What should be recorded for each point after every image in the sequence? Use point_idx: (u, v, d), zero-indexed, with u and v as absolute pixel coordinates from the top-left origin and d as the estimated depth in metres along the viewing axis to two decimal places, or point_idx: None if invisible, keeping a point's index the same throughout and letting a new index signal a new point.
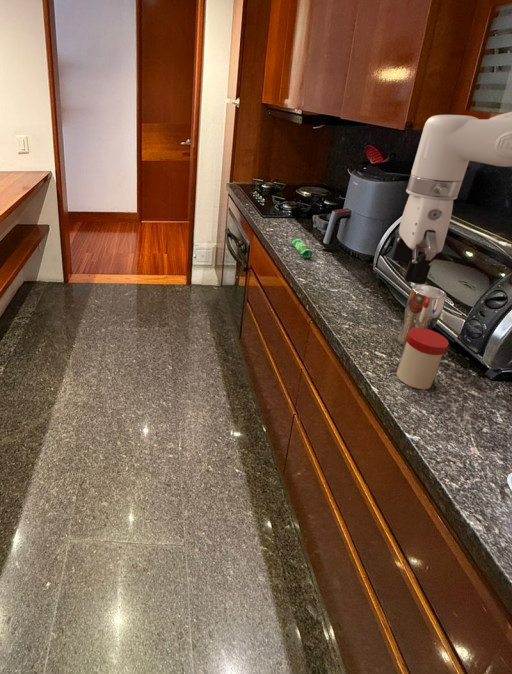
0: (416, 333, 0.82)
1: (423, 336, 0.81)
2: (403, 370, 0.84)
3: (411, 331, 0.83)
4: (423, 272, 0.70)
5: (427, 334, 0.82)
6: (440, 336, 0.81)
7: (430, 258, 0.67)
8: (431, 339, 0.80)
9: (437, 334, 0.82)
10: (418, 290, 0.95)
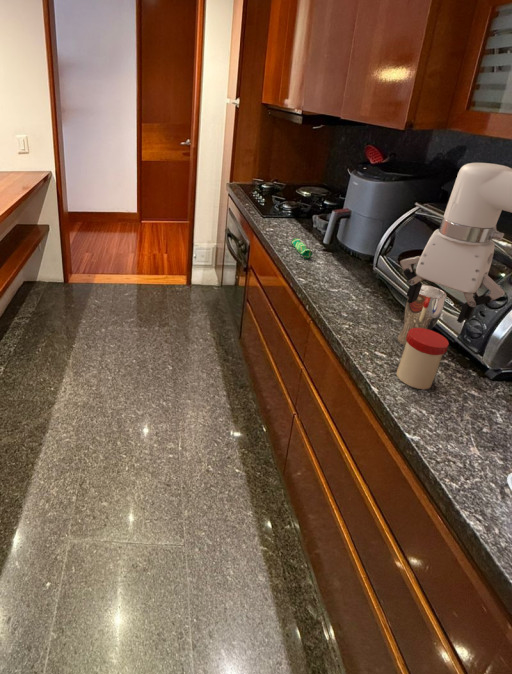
0: (416, 333, 0.82)
1: (423, 336, 0.81)
2: (403, 370, 0.84)
3: (411, 331, 0.83)
4: (473, 310, 0.74)
5: (427, 334, 0.82)
6: (440, 336, 0.81)
7: (493, 299, 0.71)
8: (431, 339, 0.80)
9: (437, 334, 0.82)
10: None
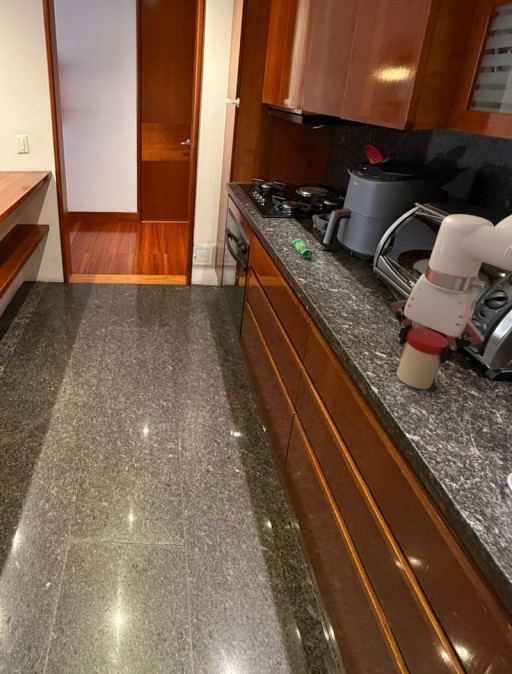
0: (416, 333, 0.82)
1: (423, 336, 0.81)
2: (403, 370, 0.84)
3: (411, 331, 0.83)
4: None
5: (427, 334, 0.82)
6: (440, 336, 0.81)
7: None
8: (431, 339, 0.80)
9: (437, 334, 0.82)
10: None
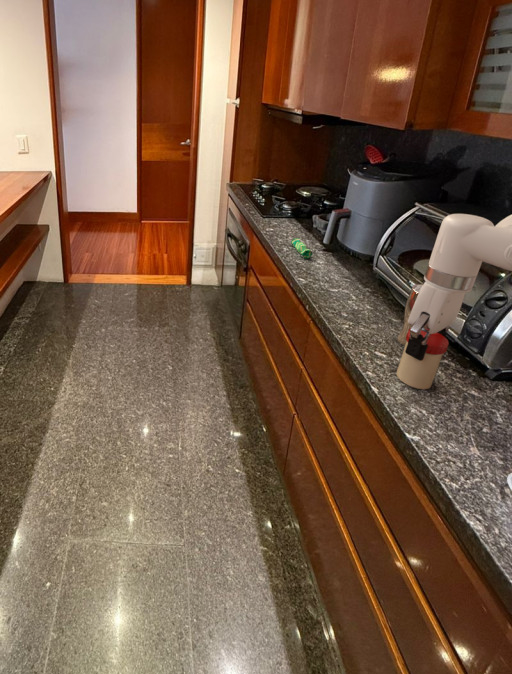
0: None
1: (429, 339, 0.80)
2: (403, 370, 0.84)
3: None
4: None
5: (421, 334, 0.82)
6: None
7: None
8: (431, 336, 0.81)
9: None
10: (418, 290, 0.95)
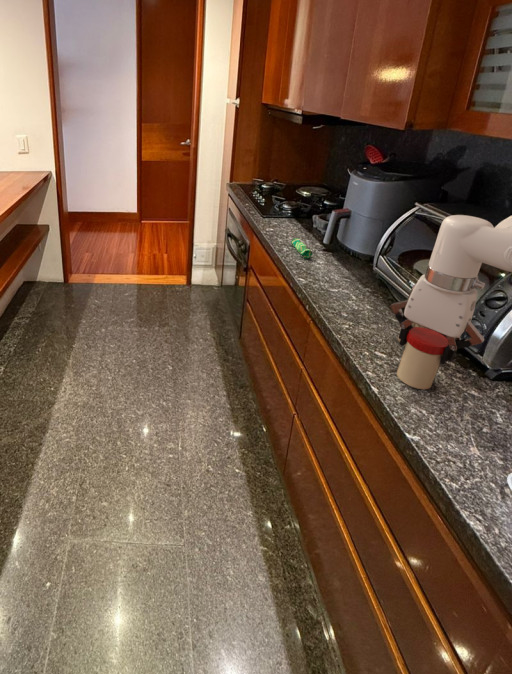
0: (427, 341, 0.80)
1: (430, 339, 0.80)
2: (404, 370, 0.84)
3: (426, 343, 0.79)
4: (455, 352, 0.78)
5: (422, 335, 0.82)
6: (418, 328, 0.84)
7: None
8: (431, 336, 0.81)
9: (415, 329, 0.84)
10: None
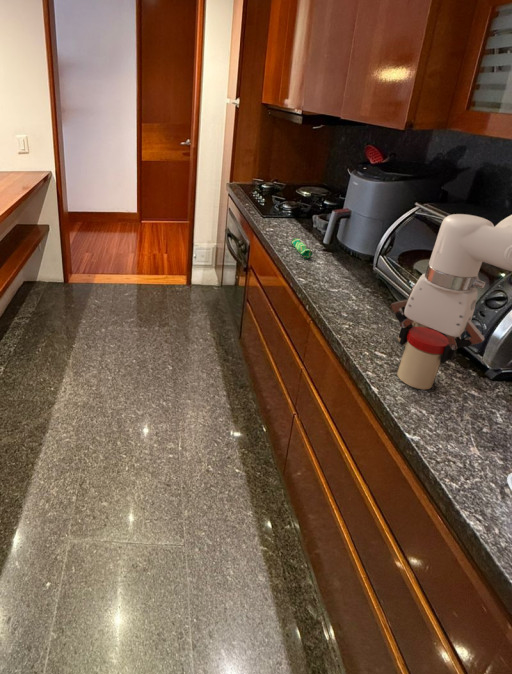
0: (440, 340, 0.80)
1: (433, 336, 0.81)
2: (404, 371, 0.84)
3: (446, 342, 0.79)
4: (455, 352, 0.78)
5: (429, 338, 0.80)
6: (416, 336, 0.81)
7: None
8: (425, 333, 0.82)
9: (418, 338, 0.80)
10: None
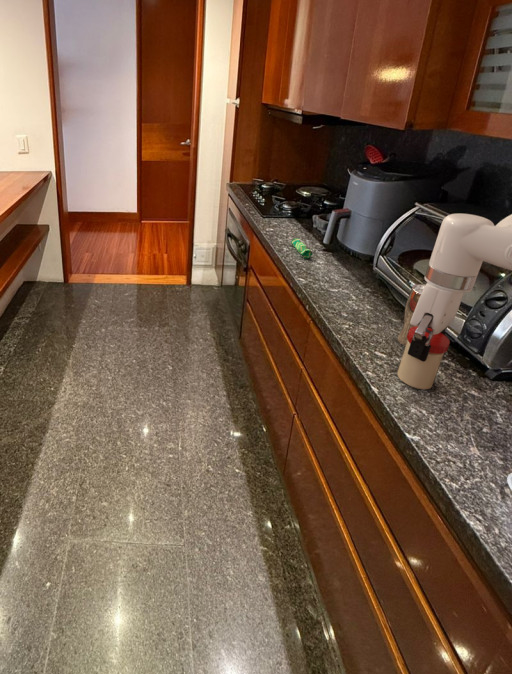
0: None
1: (427, 333, 0.82)
2: (405, 371, 0.84)
3: (431, 329, 0.83)
4: None
5: (435, 337, 0.80)
6: (439, 344, 0.78)
7: None
8: None
9: (443, 343, 0.78)
10: (418, 290, 0.95)
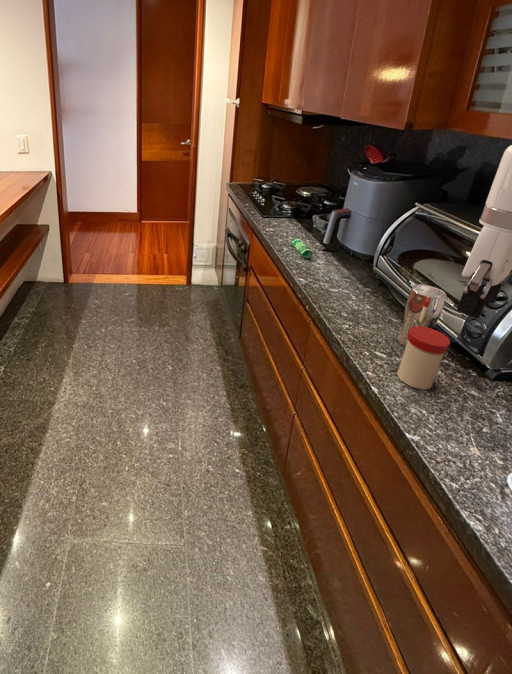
0: (430, 331, 0.82)
1: (428, 333, 0.82)
2: (405, 371, 0.84)
3: (432, 329, 0.83)
4: None
5: (436, 337, 0.80)
6: (440, 344, 0.78)
7: None
8: (426, 336, 0.81)
9: (443, 344, 0.78)
10: (418, 290, 0.95)
